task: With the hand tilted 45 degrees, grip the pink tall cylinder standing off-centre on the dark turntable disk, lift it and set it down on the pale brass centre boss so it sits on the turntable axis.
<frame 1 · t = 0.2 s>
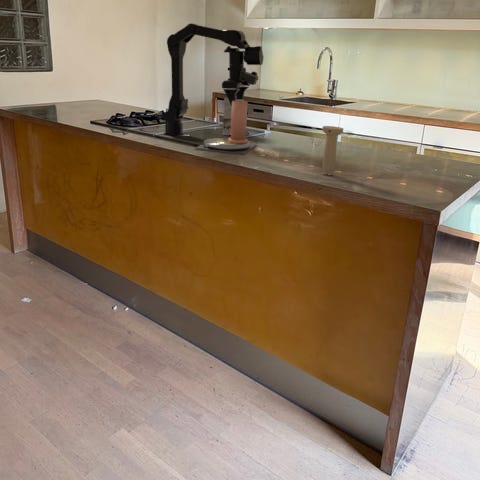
hand: (236, 105, 195), 14 cm above the countertop, tool pointing down, fingers open, 9 cm apart
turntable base: (226, 147, 188), on the countertop
handle: (327, 175, 155), on the countertop
turntable disk: (227, 143, 187), point 1 cm above the countertop, hinge at 0.0°, touching pink tall cylinder
coffee box: (231, 134, 215), on the countertop
pink tall cylinder: (237, 142, 189), point 2 cm above the countertop, touching turntable disk
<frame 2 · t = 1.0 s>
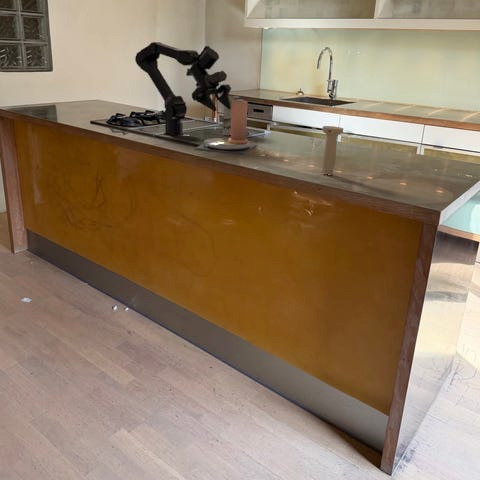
hand: (223, 109, 189), 13 cm above the countertop, tool tilted 45°, fingers open, 9 cm apart
nothing on the countertop moved.
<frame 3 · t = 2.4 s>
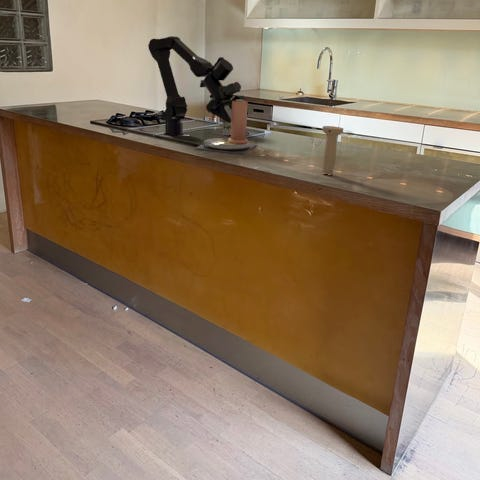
hand: (237, 121, 186), 10 cm above the countertop, tool tilted 45°, fingers open, 9 cm apart
nothing on the countertop moved.
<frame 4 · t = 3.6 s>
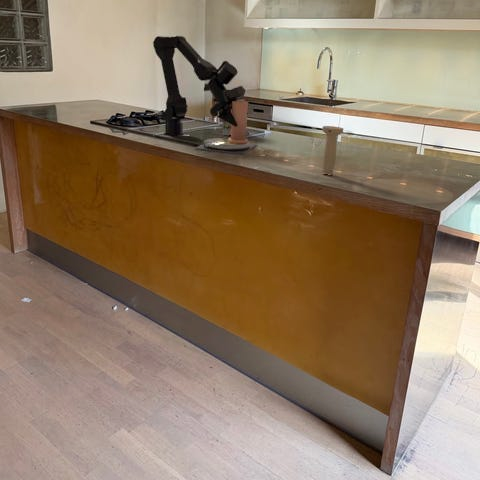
hand: (241, 125, 186), 9 cm above the countertop, tool tilted 45°, fingers closed on pink tall cylinder, 6 cm apart
pink tall cylinder: (237, 142, 189), point 2 cm above the countertop, touching gripper, turntable disk
everything else where it was.
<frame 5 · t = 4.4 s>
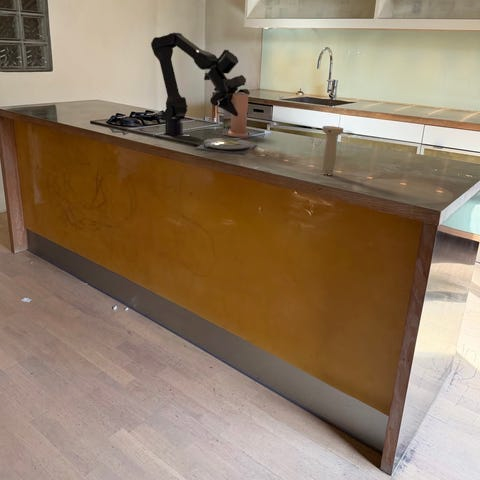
hand: (242, 114, 184), 12 cm above the countertop, tool tilted 45°, fingers closed on pink tall cylinder, 6 cm apart
turntable disk: (227, 143, 187), point 1 cm above the countertop, hinge at 0.0°
pink tall cylinder: (238, 135, 188), point 5 cm above the countertop, touching gripper
everything else where it was.
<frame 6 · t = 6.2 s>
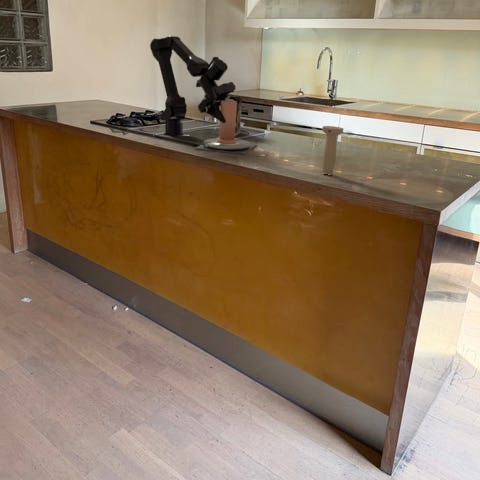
hand: (230, 121, 183), 10 cm above the countertop, tool tilted 45°, fingers closed on pink tall cylinder, 6 cm apart
turntable disk: (227, 143, 187), point 1 cm above the countertop, hinge at 0.0°, touching pink tall cylinder
pink tall cylinder: (226, 142, 187), point 2 cm above the countertop, touching gripper, turntable disk
everything else where it was.
when the fingers open (10 cm above the countertop, at t = 6.4 s): pink tall cylinder stays where it is, resting on turntable disk.
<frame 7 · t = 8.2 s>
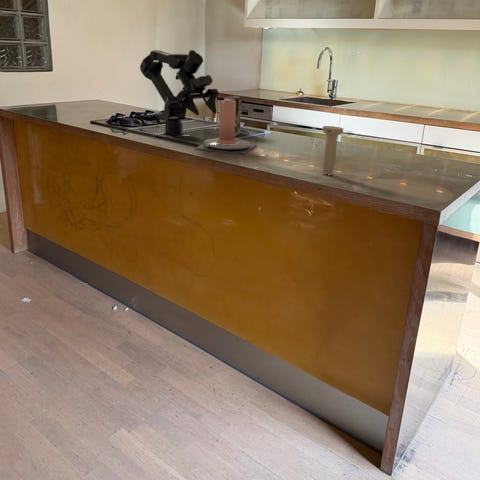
hand: (207, 114, 189), 12 cm above the countertop, tool tilted 45°, fingers open, 9 cm apart
pink tall cylinder: (226, 142, 187), point 2 cm above the countertop, touching turntable disk
everything else where it was.
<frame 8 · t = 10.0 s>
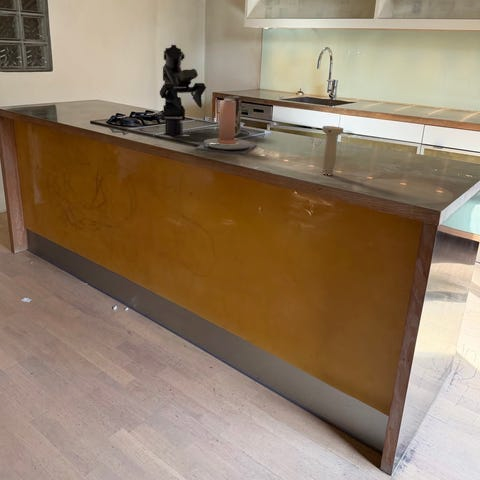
hand: (191, 107, 188), 14 cm above the countertop, tool tilted 45°, fingers open, 9 cm apart
nothing on the countertop moved.
at the end: pink tall cylinder 0.3 cm from the turntable disk (horizontally); pink tall cylinder tilted 0°; the gripper is holding nothing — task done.
